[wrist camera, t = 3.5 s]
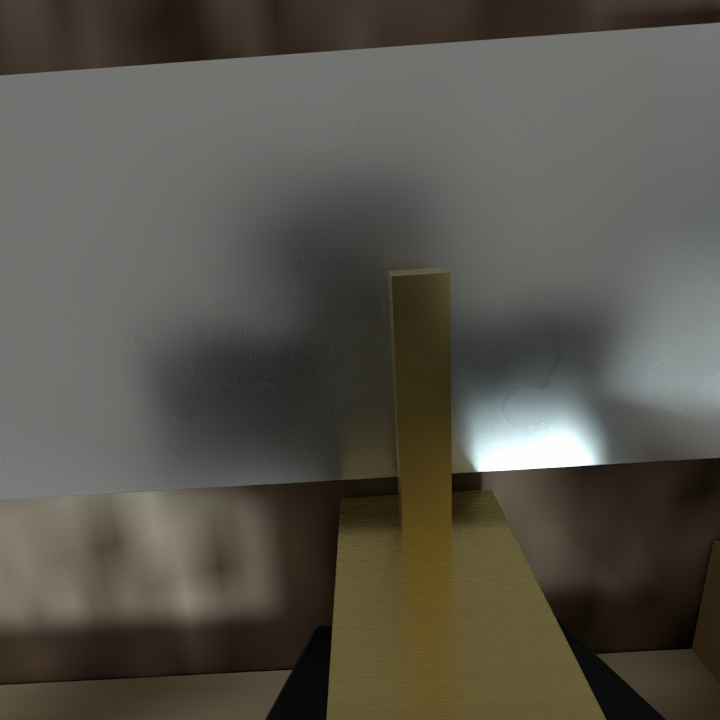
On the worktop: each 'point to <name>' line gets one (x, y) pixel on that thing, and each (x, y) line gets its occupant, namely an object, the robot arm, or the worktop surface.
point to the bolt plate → (359, 259)
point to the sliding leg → (439, 567)
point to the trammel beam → (260, 689)
